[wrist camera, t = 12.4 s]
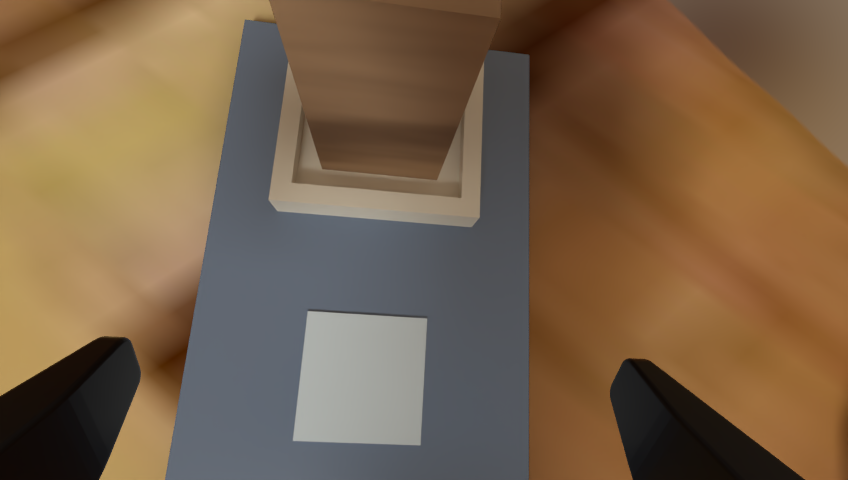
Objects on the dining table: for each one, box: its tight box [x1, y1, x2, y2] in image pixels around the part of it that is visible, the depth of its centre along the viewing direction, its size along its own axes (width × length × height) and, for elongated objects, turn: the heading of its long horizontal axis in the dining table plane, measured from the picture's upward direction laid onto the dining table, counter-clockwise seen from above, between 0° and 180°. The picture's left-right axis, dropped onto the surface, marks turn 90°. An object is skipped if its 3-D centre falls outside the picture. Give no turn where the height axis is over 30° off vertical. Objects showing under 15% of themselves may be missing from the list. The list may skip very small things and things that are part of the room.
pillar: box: [269, 0, 501, 180], centre depth 15 cm, size 5×5×10 cm
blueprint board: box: [165, 20, 529, 480], centre depth 18 cm, size 22×14×2 cm, turn 177°
